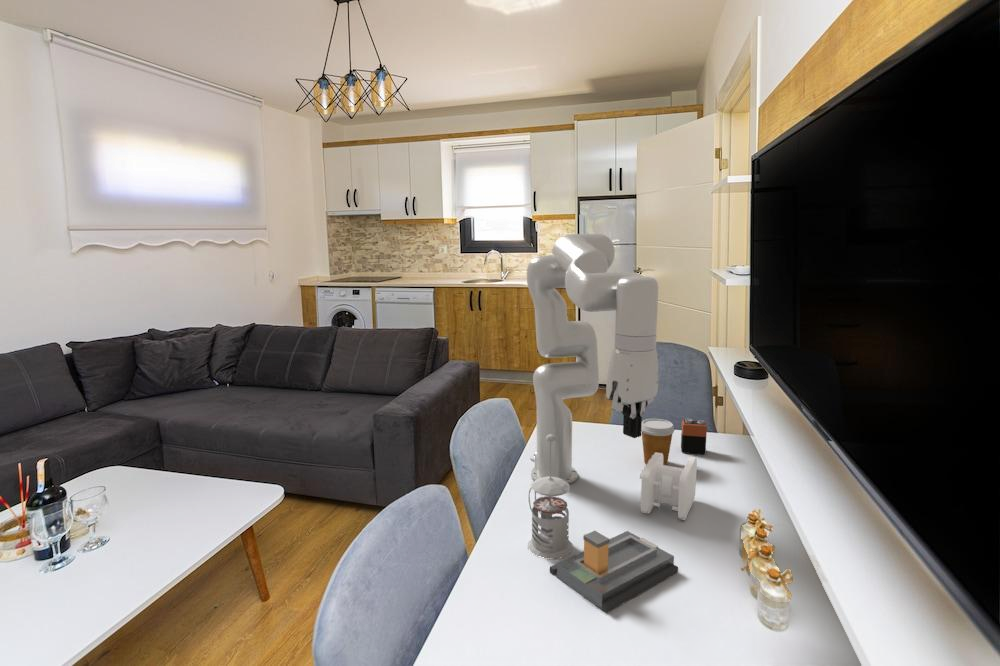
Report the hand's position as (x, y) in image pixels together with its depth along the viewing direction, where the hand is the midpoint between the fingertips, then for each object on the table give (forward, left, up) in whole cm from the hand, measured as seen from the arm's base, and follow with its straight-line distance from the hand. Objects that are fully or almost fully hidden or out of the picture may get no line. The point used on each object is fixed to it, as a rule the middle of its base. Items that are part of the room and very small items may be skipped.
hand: (631, 435), depth 111 cm
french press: (-15, -8, -27) cm, 32 cm away
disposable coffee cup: (-29, +44, -27) cm, 60 cm away
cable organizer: (-10, +25, -28) cm, 39 cm away
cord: (-6, -5, -27) cm, 28 cm away
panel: (+1, -5, -27) cm, 28 cm away
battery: (-28, +60, -27) cm, 72 cm away
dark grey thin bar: (+8, -5, -27) cm, 29 cm away
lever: (+1, -10, -24) cm, 26 cm away
